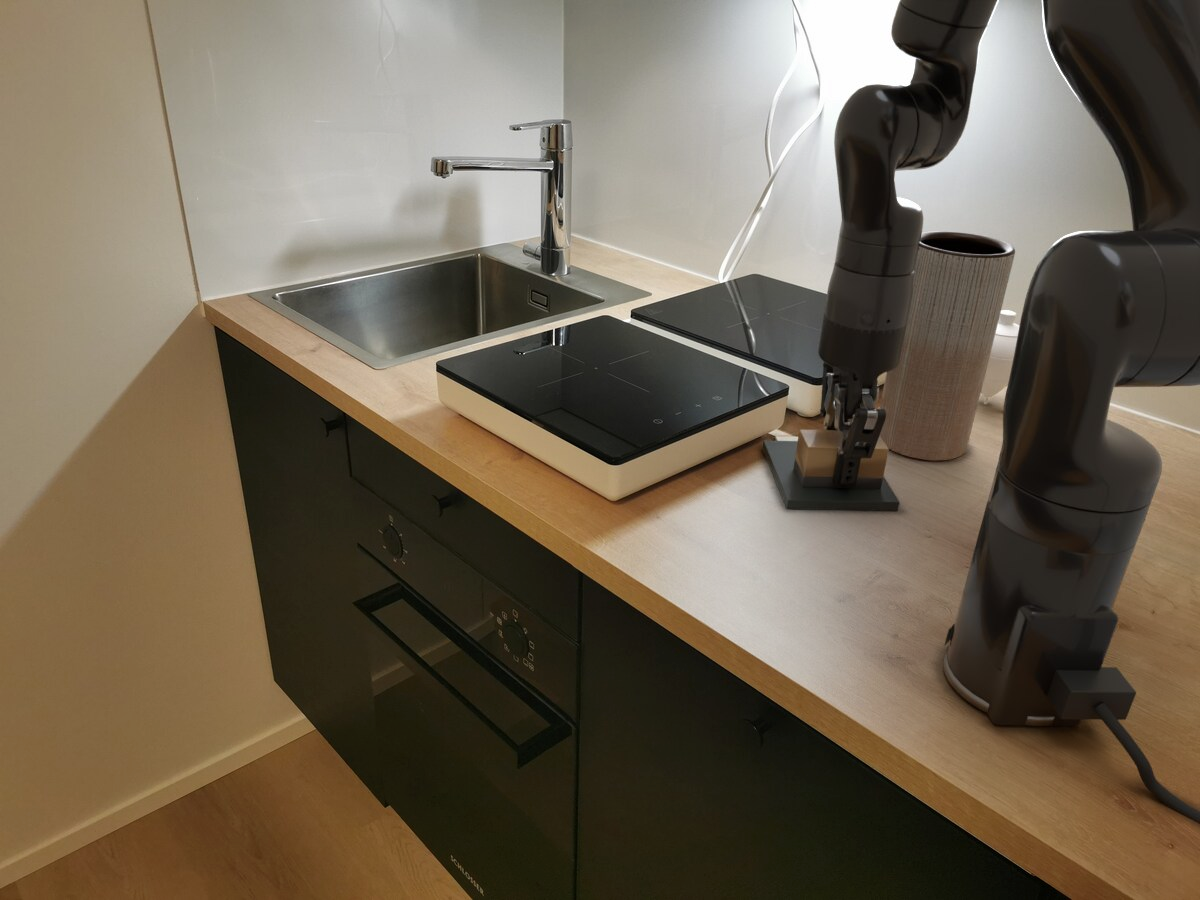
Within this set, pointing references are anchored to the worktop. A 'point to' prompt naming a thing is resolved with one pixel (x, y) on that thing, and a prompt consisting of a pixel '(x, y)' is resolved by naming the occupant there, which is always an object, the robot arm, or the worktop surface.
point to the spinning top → (1001, 355)
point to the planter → (945, 344)
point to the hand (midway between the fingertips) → (837, 474)
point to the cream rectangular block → (786, 438)
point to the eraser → (834, 460)
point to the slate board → (817, 497)
